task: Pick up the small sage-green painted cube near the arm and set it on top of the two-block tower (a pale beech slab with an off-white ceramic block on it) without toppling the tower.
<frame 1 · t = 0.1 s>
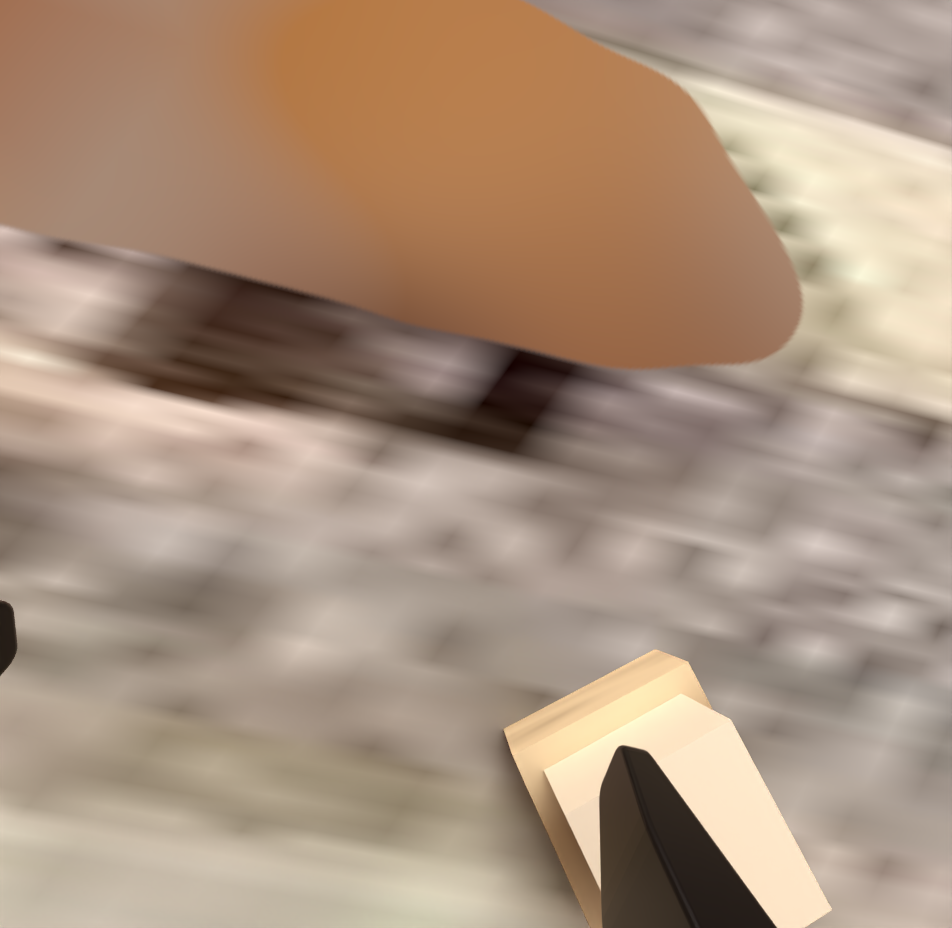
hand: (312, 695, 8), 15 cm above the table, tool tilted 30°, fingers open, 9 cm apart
tower mid: (652, 808, 19), point 3 cm above the table
tower base: (618, 769, 22), on the table
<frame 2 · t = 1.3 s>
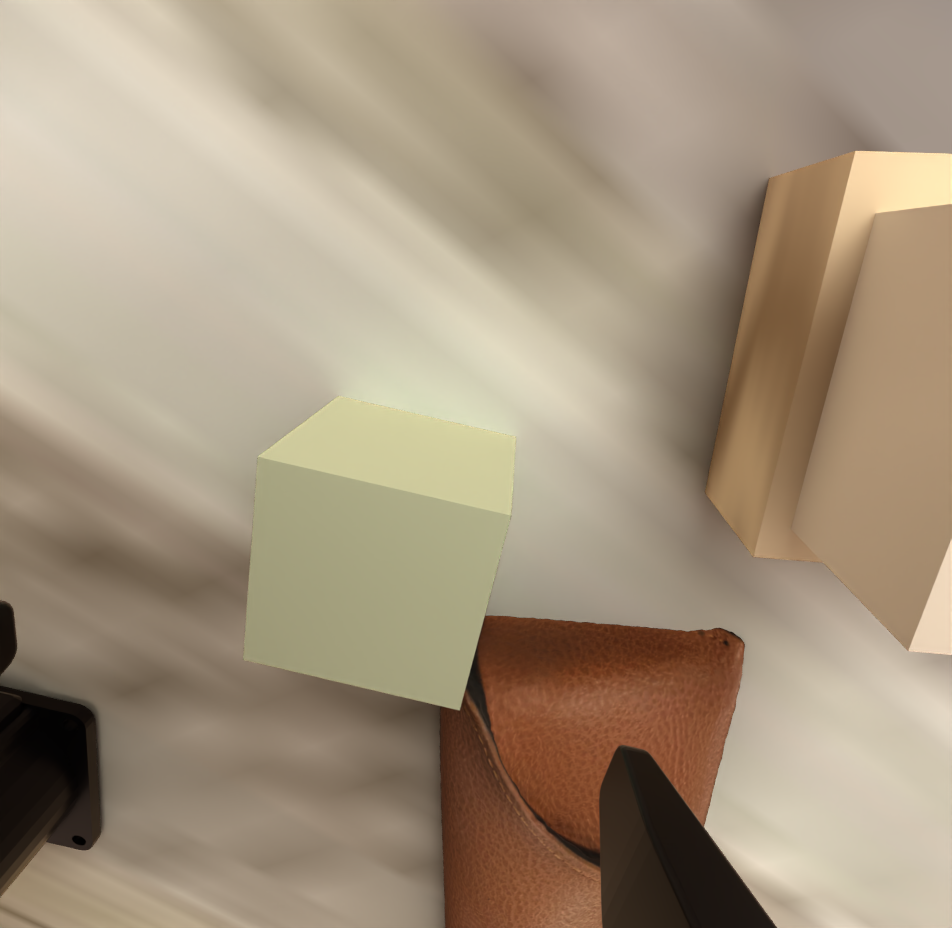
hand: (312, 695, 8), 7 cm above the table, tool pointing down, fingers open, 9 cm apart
sage cube: (412, 496, 15), on the table
sunglasses case: (572, 819, 19), on the table
tower base: (886, 357, 13), on the table, touching tower mid
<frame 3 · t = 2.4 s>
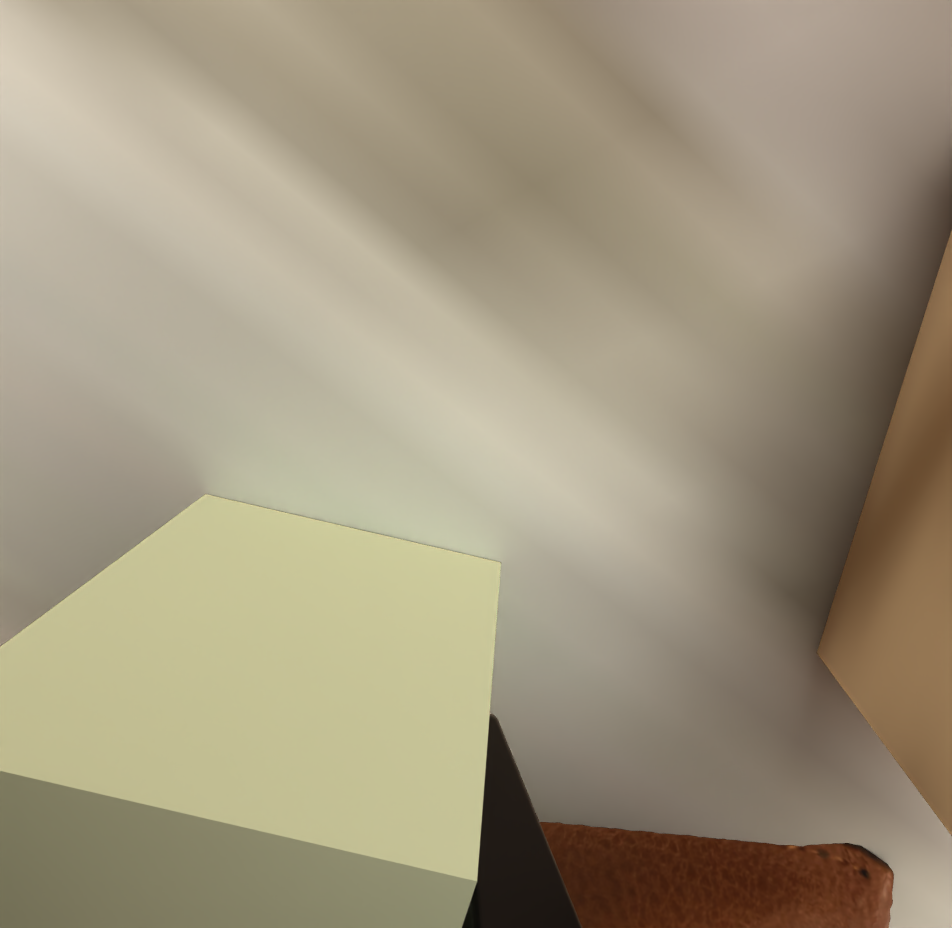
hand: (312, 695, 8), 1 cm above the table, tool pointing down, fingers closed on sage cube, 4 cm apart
sage cube: (335, 648, 9), on the table, touching gripper
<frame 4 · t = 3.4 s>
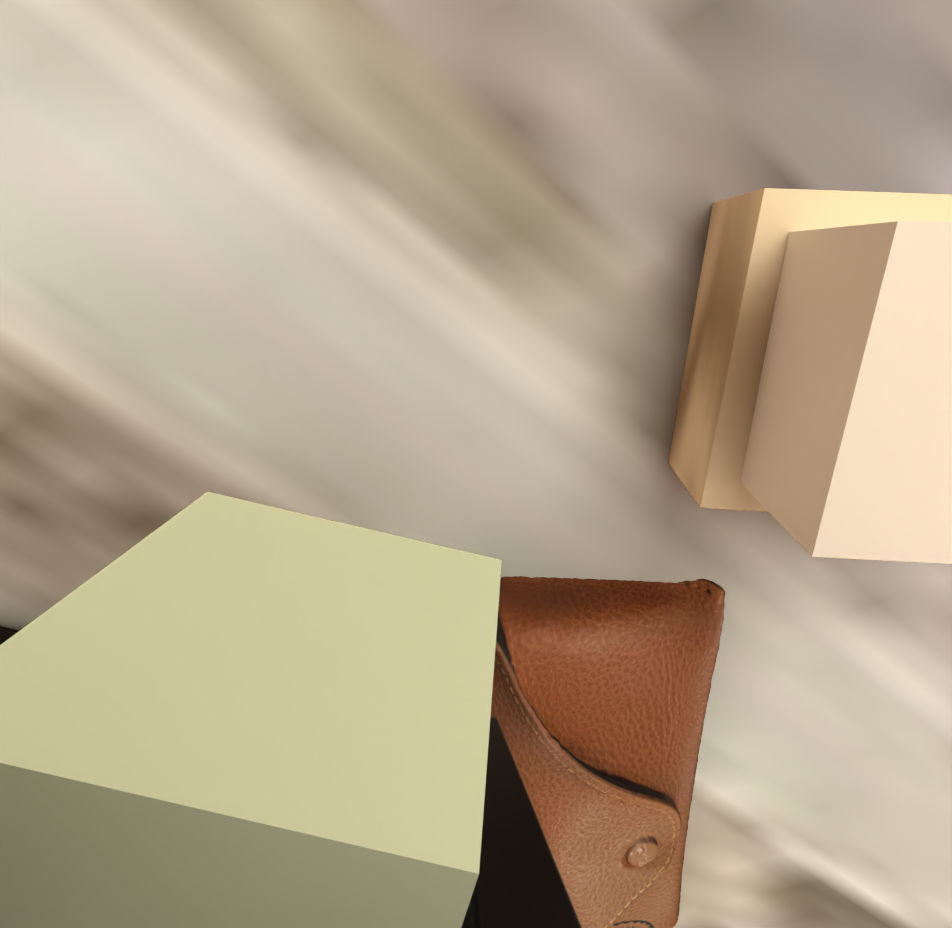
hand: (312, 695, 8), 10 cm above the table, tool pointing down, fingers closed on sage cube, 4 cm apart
sage cube: (336, 645, 9), point 9 cm above the table, touching gripper
sunglasses case: (584, 760, 22), on the table
tower mid: (893, 370, 12), point 3 cm above the table
tower base: (814, 348, 15), on the table
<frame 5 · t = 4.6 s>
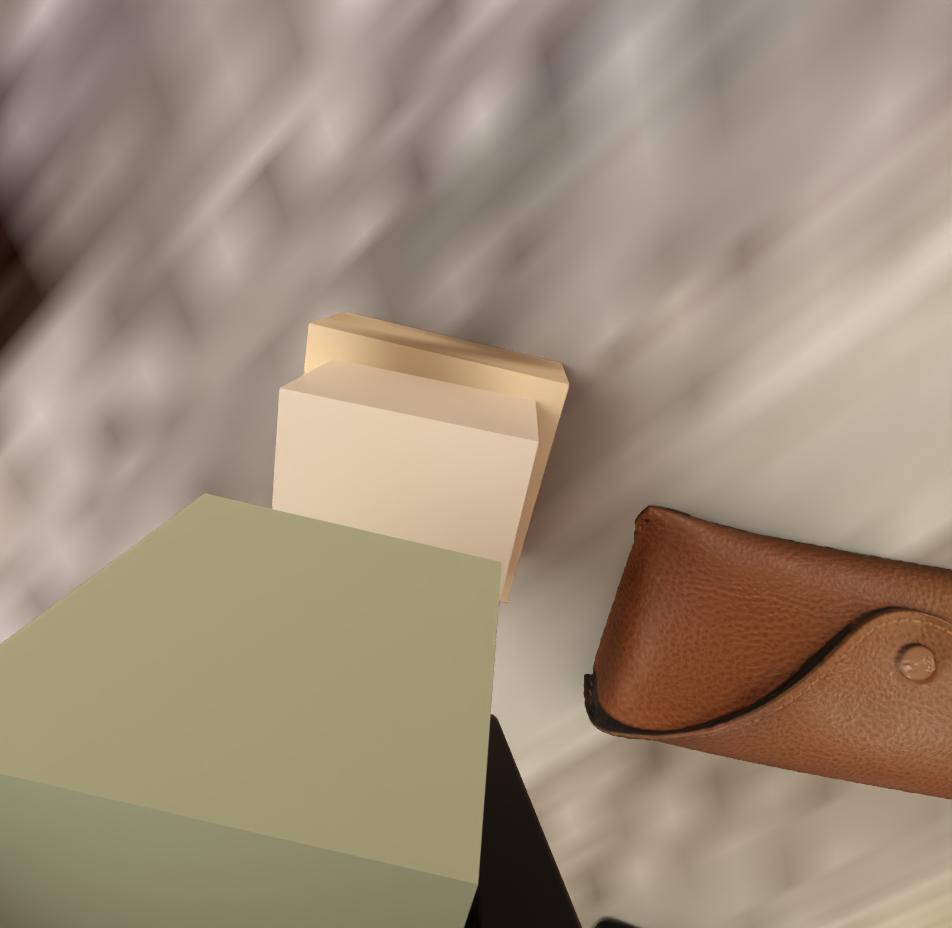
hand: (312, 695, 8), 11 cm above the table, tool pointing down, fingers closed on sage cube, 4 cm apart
sage cube: (334, 648, 9), point 10 cm above the table, touching gripper
sunglasses case: (836, 631, 21), on the table
tower mid: (418, 473, 16), point 3 cm above the table, touching tower base
tower base: (434, 436, 19), on the table, touching tower mid
when the fingers open (9 cm above the table, at t = 5.3 s): sage cube drops 2 cm, resting on tower mid.
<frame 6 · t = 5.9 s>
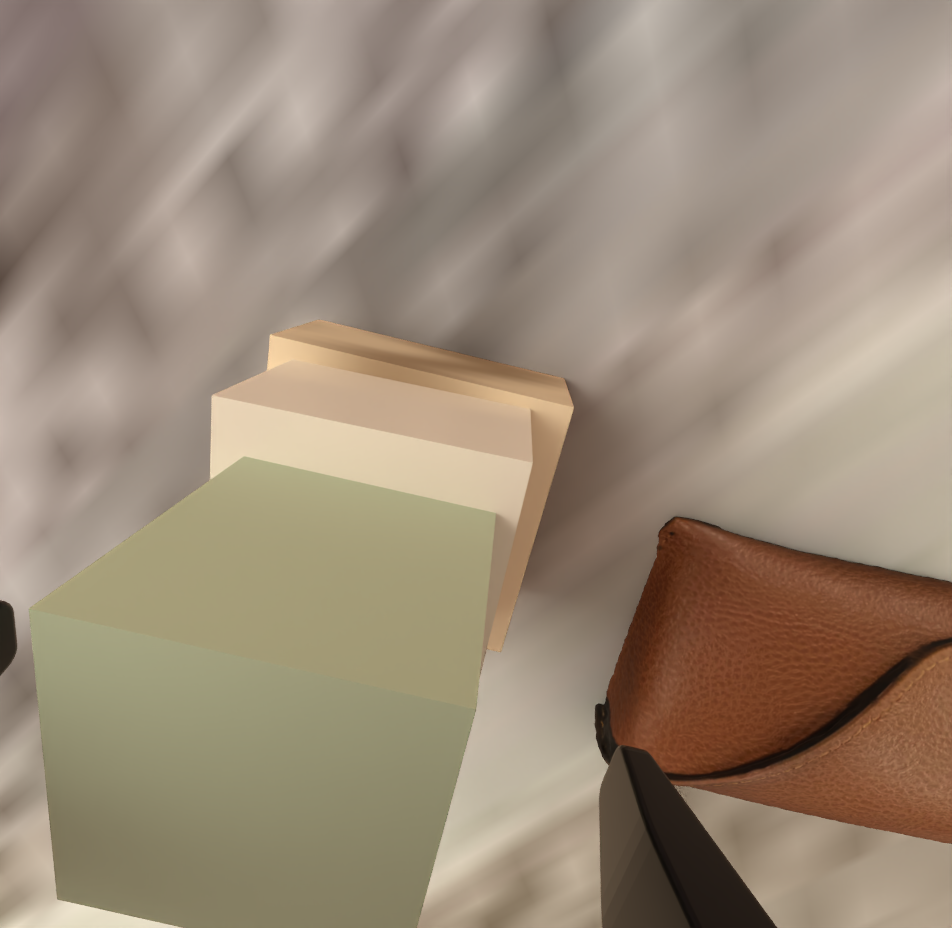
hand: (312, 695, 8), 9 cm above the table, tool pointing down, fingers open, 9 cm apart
sage cube: (353, 591, 10), point 7 cm above the table, touching tower mid
sunglasses case: (880, 660, 18), on the table
tower mid: (394, 492, 14), point 3 cm above the table, touching sage cube, tower base
tower base: (420, 459, 17), on the table, touching tower mid
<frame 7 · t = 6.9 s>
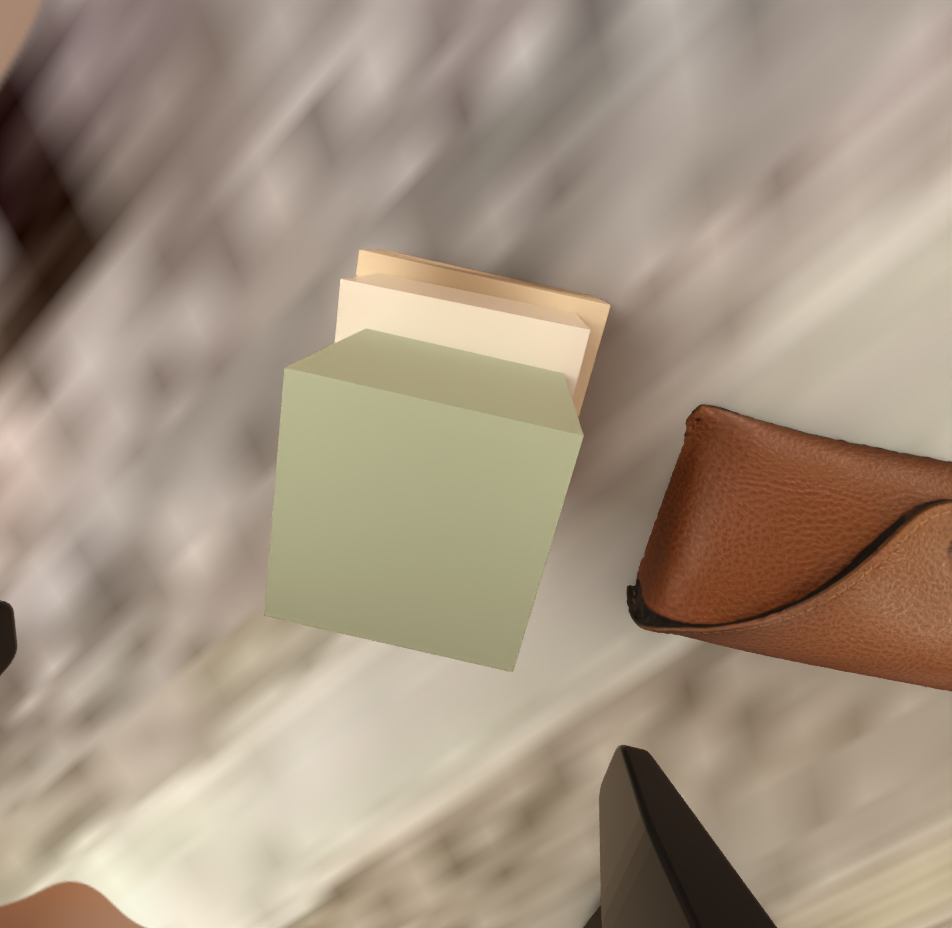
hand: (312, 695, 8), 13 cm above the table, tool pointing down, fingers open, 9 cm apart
sage cube: (445, 443, 13), point 7 cm above the table, touching tower mid
sunglasses case: (879, 541, 21), on the table
tower mid: (460, 389, 16), point 3 cm above the table, touching sage cube, tower base
tower base: (470, 375, 20), on the table, touching tower mid
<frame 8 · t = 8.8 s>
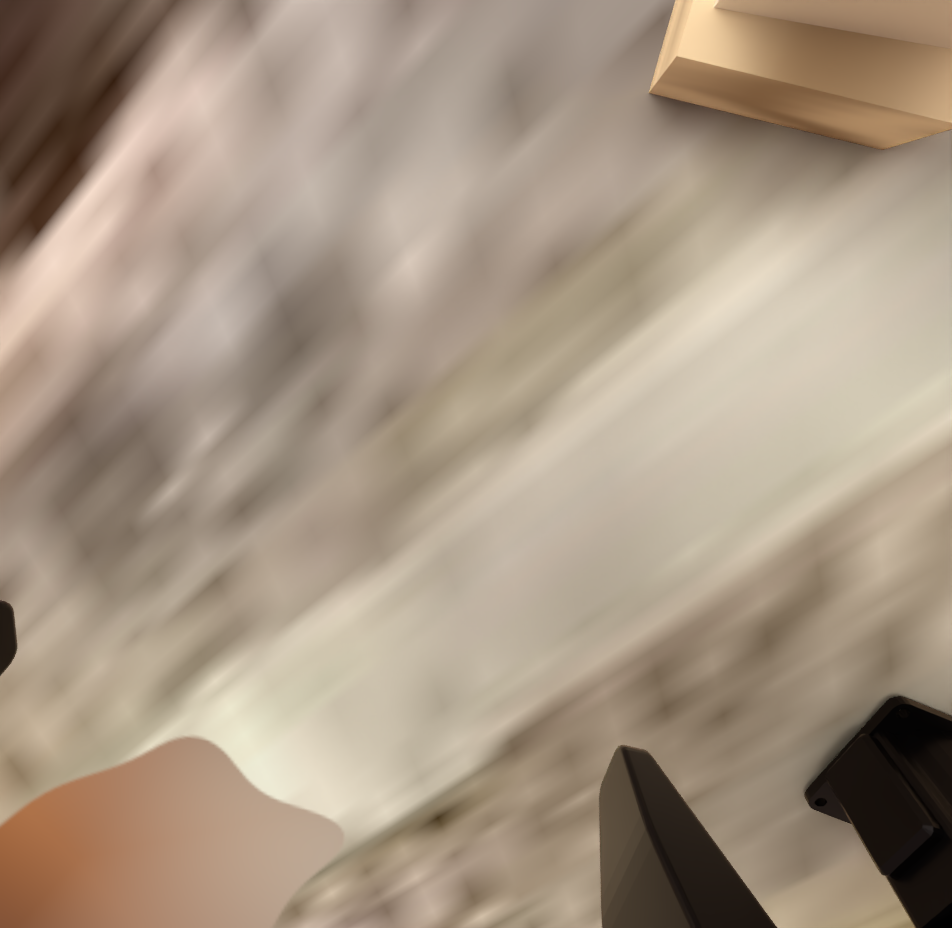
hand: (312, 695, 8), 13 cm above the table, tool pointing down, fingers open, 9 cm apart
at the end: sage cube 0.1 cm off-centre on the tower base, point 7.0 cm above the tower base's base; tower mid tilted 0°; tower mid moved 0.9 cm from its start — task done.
